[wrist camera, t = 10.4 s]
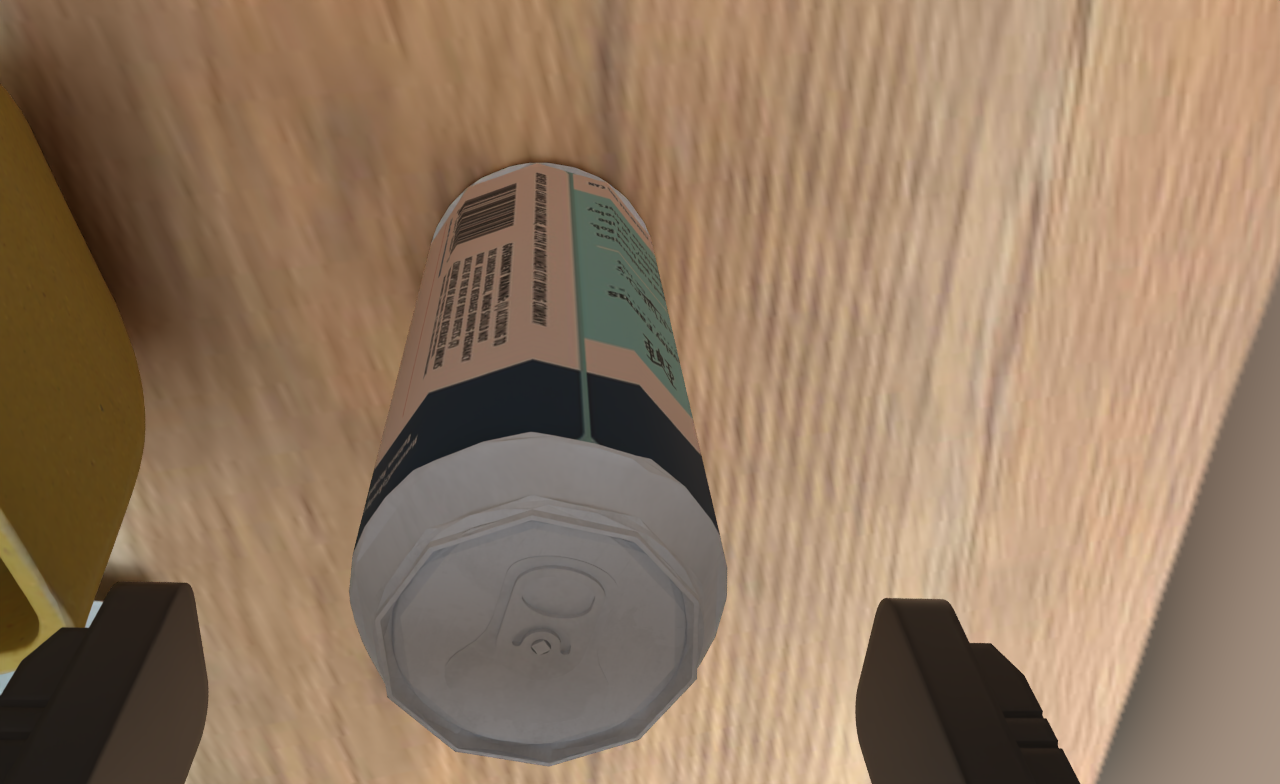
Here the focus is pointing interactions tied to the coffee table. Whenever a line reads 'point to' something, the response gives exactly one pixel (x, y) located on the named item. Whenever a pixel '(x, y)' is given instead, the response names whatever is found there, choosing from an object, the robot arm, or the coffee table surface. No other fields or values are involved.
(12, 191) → the flower pot
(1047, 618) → the coffee table surface
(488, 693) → the beer can
